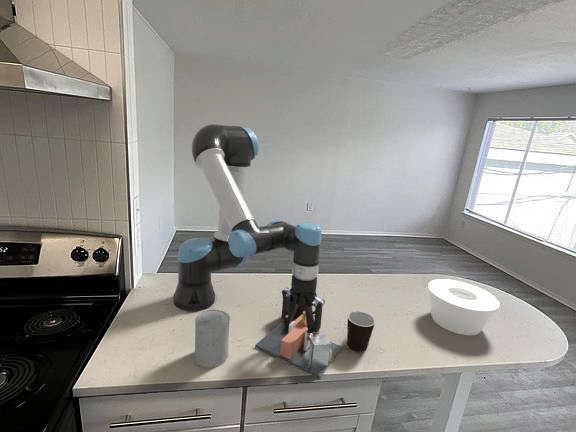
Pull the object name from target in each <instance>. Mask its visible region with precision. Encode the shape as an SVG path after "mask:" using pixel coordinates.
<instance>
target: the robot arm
mask: <svg viewBox="0 0 576 432" xmlns="http://www.w3.org/2000/svg"><path fill="white" fill-rule="evenodd" d="M259 148H260V147H259V140H258V137H257V135H256V134H255V132H254V131H253V130H252V129H251V128H249V127H245V126H240V125H238V126H237V125H227V124H226V125H224V124H215V123H212V124H208V125H205V126H203V127H201V128H200V129H199V130H197V132H195V135H194V137H193V139H192V143H191V155H192V159H193V161H194V163H195V165H196V167H197V168H198V169H200V170H202V172H203V174H204V177H205V178H206V181H207V182H208V185H209V188H210V189H211V192H212V193H213V196H214V198H215V199H216V203H217V204H218V206H219V208H218V209H219V211H218V224H217V226H218V227H217V230H216V231H215V232H214V233H213V240H211V239H209V238H207V237H194V238H190V239H187V240H185V241H184V242H182V243H181V244H180V246H179V248H178V254H177V261H178V265H177V267H178V268H177V269H178V270H177V272H178V274H177V275H178V280H177V281H178V282H177V285H176V288H175V291H174V293H173V295H172V296H173V297H172V298H173V299H172V301H173V303H172V304H173V305H174V307H175V308H177V309H179V310H181V311H184V312H185V311H186V312H198V311H202V310H203V311H204V310H206V309H208V308H210V307H212V306H213V305H214V304H215V302H216V293H215V290H214V286H213V283H212V273H216V272H220V271H224V270H228V269H233V268H237V267H239V266H241V265H244V264H245V263H246V262H247V261H248V258H249V257H252V256H255V255H257V254H261V253H263V254H264V253H266V252H271V251H277V250H280V249H285V250H286V251H289V252H291V253H293V257H292V259H293V260H292V271H291V272H292V275H291V284H290V285H291V287H290V288H289V287H285V288H283V289H282V290H281V294H282V295H281V296H282V305H281V306H282V307H281V320H282V321H284V320H285V321H286V322H287V327H286V331H287V332H288V333H289V332H290V331H291V330H292V329H293V328H294V327H295V321H293V320H294V316H295V314H296V311H297V308H298V305H302V306H304V310H305V314H306V321H307V327H308V329H307V330H306V331H305V341H304V350H305V351H306V350H307V349H308V348H309V347H310V340H309V338H308V333H314V332H317V331H318V330H319V329H321V327H322V318H323V317H322V316H323V306H324V305H325V303H326V301H325V299H323V298H322V299H320V298H319V297H318V295H317V287H318V276H319V266H320V265H319V263H320V253H321V245H322V241H323V240H322V233H323V232H322V228H321V226H320V225H319V224H317V223H314V222H313V223H312V222H299V223H297V224H296V225H293V224H290V223H288V222H286V221H284V220H278V219H276V220H275V219H274V220H271V221H270V222H269V223H268V224H267V225H264V226H263V225H262V226H259V225H258V223H257V222H256V219H255V217H254V216H253V214H252V212H251V210H250V208H249V207H248V204H247V203H246V200H245V198H244V197H245V196H244V194H245V183H246V171H247V170H248V169H249V168H250V167H251V162H252V161H253V160H255V159H256V158H257V156H258V154H259V150H260V149H259ZM290 295H292V297H293V302H292V306H291V309H290V312H289V306H290ZM314 302H315V306H316V309H314V310H313V304H312V303H314ZM315 306H314V307H315ZM314 311H315V314H313V312H314ZM292 321H293V322H292ZM319 331H320V330H319Z"/></svg>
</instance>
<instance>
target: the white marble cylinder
mask: <svg viewBox="0 0 576 432" xmlns="http://www.w3.org/2000/svg"><path fill="white" fill-rule="evenodd" d="M230 321H231V316H230V315H229V314H228V313H227V312H226V311H223V310H220V309H208V310H203V311H202V312H199V313H198V314H197V315H196V317H195V320H194V322H195V325H194V326H195V328H194V335H195V336H194V356H193V357H194V361H195V363H196V364H197V365H198V366H200V367H201V368H202V367H203V368H206V369H207V368H208V369H211V368H213V369H214V368H217V367H219V366H222V365H223V364H225V363H226V362H227V360H228V357H229V343H230V342H229V339H230V338H229V337H230Z"/></svg>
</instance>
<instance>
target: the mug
mask: <svg viewBox="0 0 576 432" xmlns="http://www.w3.org/2000/svg"><path fill="white" fill-rule="evenodd" d="M292 302H293V297H292V295H290V306H289V312H290V309H291V306H292ZM312 304H313V306H314V308H315V309H316V306H315V303H314V302H312ZM315 309H314V310H313V315H315ZM303 311H305V310H304V306H302V305H298V308H297V311H296V314H295V316H294V320H293V321H295V320H296V319H297V318H298V317H299V316H300V315H303ZM293 321H292V322H293ZM283 322H285V323H287V322H286V321H285V320H283Z"/></svg>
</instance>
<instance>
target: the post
mask: <svg viewBox="0 0 576 432" xmlns="http://www.w3.org/2000/svg"><path fill="white" fill-rule="evenodd" d="M301 325H302V326H304V327H307V321H306V314H305V311H303V315H302V324H301ZM307 328H308V327H307Z"/></svg>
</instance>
